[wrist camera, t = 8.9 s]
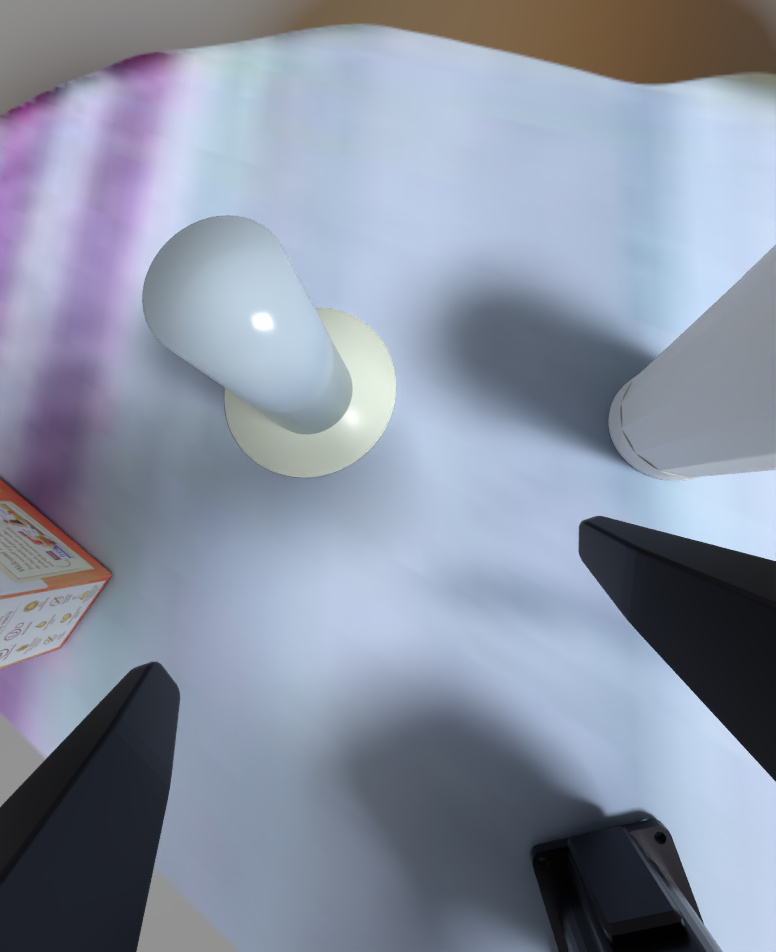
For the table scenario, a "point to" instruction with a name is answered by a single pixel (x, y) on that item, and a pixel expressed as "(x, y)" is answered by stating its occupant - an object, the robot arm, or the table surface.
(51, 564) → the cracker box
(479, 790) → the table surface
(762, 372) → the cup
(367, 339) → the mat
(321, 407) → the grey cylinder
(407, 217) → the table surface
